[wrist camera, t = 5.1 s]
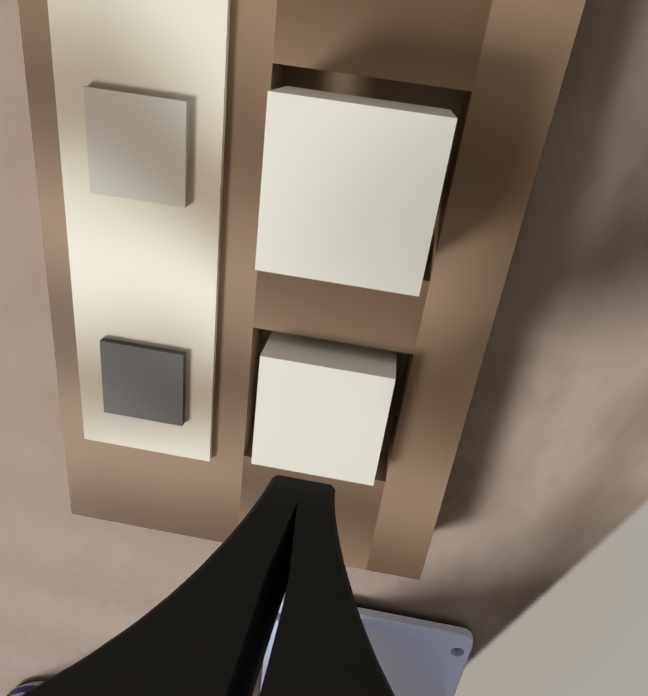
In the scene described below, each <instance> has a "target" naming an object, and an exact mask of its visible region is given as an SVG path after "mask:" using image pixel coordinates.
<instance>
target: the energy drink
mask: <svg viewBox="0 0 648 696" xmlns="http://www.w3.org/2000/svg"><path fill="white" fill-rule="evenodd" d="M43 682H44V681H33V682H29V683H25V684H23V685H21V686H19V687H17V688H15V689H13V690H12V691H10V693H9V694H8V695H7V696H22V695H23V694H24V693H25V692H27V691H29V690H30V689H32V688H34V687H36V686H37V685H39V684H41V683H43Z"/></svg>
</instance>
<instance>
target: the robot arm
mask: <svg viewBox="0 0 648 696" xmlns="http://www.w3.org/2000/svg"><path fill="white" fill-rule="evenodd" d="M285 590H286V591H285ZM472 646H473V637H472V634H471V632H470V631H469V630H468V629H466V628H463V627H458V626H453V625H448V624H443V623H438V622H432V621H427V620H422V619H417V618H412V617H407V616H402V615H396V614H391V613H386V612H381V611H376V610H371V609H366V608H360V607H357V605H356V602H355V599H354V596H353V593H352V589H351V586H350V583H349V579H348V576H347V572H346V568H345V564H344V560H343V555H342V551H341V546H340V541H339V536H338V530H337V523H336V515H335V489H334V488H333V486H332V485H330V484H325V483H320V482H314V481H309V480H303V479H298V478H293V477H287V476H282V475H276V476H274V477H273V478H272V479H271V481H270V482H269V484H268V486H267V487H266V489H265V490H264V492H263V493H262V495H261V496H260V498H259V499H258V501H257V502H256V503H255V505H254V506H253V507H252V509H251V510H250V511H249V513H248V514H247V515H246V516H245V518H244V519H243V520H242V521H241V522H240V524H239V525H238V526H237V527H236V529H235V530H234V531H233V532H232V533H231V535H230V536H229V537H228V538H227V539H226V540H225V541H224V542H223V543H222V545H221V546H220V547H219V548H218V549H217V550H216V551H215V552H214V553H213V554H212V555H211V556H210V557H209V558H208V559H207V560H206V561H205V563H204V564H203V565H202V566H201V567H200V568H198V569H197V570H196V571H195V572H194V573H193V574H192V575H191V576H190V577H189V578H188V579H187V580H186V581H185V582H184V583H183V584H181V585H180V586H179V587H178V588H177V589H176V590H175V591H174V592H172V593H171V594H170V595H169V596H168V597H167V598H165V599H164V600H163V601H162V602H161V603H159V604H158V605H157V606H156V607H154V608H153V609H152V610H151V611H149V612H148V613H147V614H146V615H144V616H143V617H142V618H141V619H139V620H138V621H137V622H135V623H134V624H133V625H131V626H130V627H129V628H127V629H126V630H124V631H123V632H121V633H120V634H119V635H117V636H116V637H114V638H113V639H111V640H110V641H108V642H107V643H105V644H104V645H102V646H101V647H100V648H98V649H97V650H95V651H94V652H92V653H91V654H89V655H88V656H86V657H85V658H83V659H82V660H80V661H78V662H77V663H75V664H73V665H72V666H70V667H68V668H67V669H65V670H63V671H61V672H60V673H58V674H56V675H55V676H53V677H51V678H49V679H48V680H46V681H44V682H43V683H41V684H39V685H37V686H36V687H34V688H32V689H30V690H29V691H27V692H25V693H24V694H23V695H22V696H252V695H253V691H254V688H255V684H256V681H257V678H258V675H259V672H260V669H261V666H262V663H263V670H262V678H261V687H260V695H259V696H454V694H455V691H456V689H457V686H458V683H459V681H460V678H461V676H462V673H463V670H464V668H465V665H466V662H467V660H468V657H469V654H470V652H471V649H472ZM263 659H264V661H263Z"/></svg>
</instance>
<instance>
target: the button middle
mask: <svg viewBox="0 0 648 696" xmlns="http://www.w3.org/2000/svg"><path fill="white" fill-rule="evenodd" d="M456 123H457V117H456V116H455V115H454V113H453V112H452V111H451V110H450V109H443V108H437V107H430V106H423V105H416V104H409V103H402V102H395V101H388V100H381V99H374V98H367V97H360V96H353V95H347V94H340V93H333V92H326V91H319V90H312V89H305V88H298V87H291V86H285V87H281V88H277V89H273V90H269V91H268V94H267V108H266V121H265V135H264V149H263V163H262V177H261V191H260V205H259V219H258V233H257V247H256V261H255V270H259V271H265V272H271V273H277V274H283V275H289V276H295V277H301V278H308V279H314V280H320V281H326V282H332V283H338V284H344V285H350V286H357V287H363V288H369V289H375V290H381V291H387V292H393V293H400V294H406V295H412V296H418V297H419V294H420V290H421V285H422V280H423V276H424V271H425V267H426V262H427V257H428V253H429V248H430V243H431V239H432V234H433V229H434V225H435V220H436V216H437V211H438V206H439V202H440V197H441V192H442V188H443V183H444V179H445V174H446V169H447V165H448V160H449V155H450V151H451V146H452V141H453V137H454V132H455V128H456Z"/></svg>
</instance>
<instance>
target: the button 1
mask: <svg viewBox="0 0 648 696" xmlns="http://www.w3.org/2000/svg"><path fill="white" fill-rule="evenodd" d="M396 358H397V352H395V351H389V350H383V349H377V348H371V347H366V346H360V345H354V344H348V343H342V342H336V341H330V340H324V339H318V338H312V337H306V336H300V335H295V334H289V333H283V332H277V331H272V332H271V334H270V336H269V338H268V340H267V343H266V345H265V347H264V349H263V351H262V353H261V355H260V362H259V374H258V386H257V398H256V410H255V423H254V435H253V447H252V459H251V464H256V465H262V466H267V467H273V468H278V469H283V470H289V471H294V472H300V473H305V474H311V475H316V476H322V477H327V478H333V479H338V480H344V481H349V482H355V483H360V484H366V485H371V486H373V485H374V480H375V475H376V471H377V466H378V461H379V456H380V452H381V447H382V442H383V437H384V433H385V428H386V423H387V418H388V414H389V409H390V404H391V399H392V395H393V390H394V385H395V380H396Z"/></svg>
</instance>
